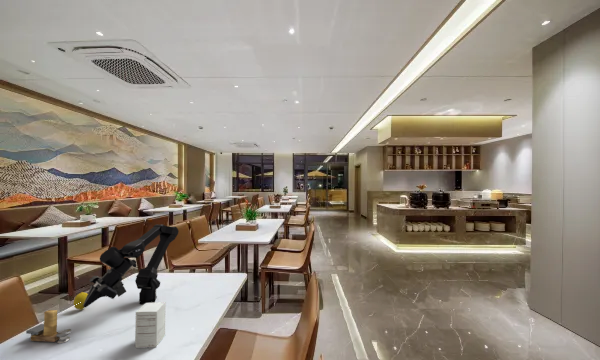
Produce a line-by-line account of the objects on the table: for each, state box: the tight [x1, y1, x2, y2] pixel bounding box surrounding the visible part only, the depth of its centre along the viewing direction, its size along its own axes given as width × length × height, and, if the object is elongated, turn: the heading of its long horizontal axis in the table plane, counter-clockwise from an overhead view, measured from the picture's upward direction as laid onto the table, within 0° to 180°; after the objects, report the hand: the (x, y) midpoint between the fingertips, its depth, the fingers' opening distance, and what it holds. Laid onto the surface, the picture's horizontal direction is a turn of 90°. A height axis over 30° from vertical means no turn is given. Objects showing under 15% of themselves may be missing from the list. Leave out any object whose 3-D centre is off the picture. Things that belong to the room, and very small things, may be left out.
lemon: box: [73, 291, 88, 311], centre depth 115 cm, size 6×6×8 cm
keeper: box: [25, 323, 44, 337], centre depth 94 cm, size 5×5×4 cm
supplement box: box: [134, 301, 167, 349], centre depth 92 cm, size 7×7×13 cm
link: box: [30, 309, 59, 343], centre depth 93 cm, size 9×3×10 cm, turn 87°
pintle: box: [56, 328, 72, 345], centre depth 92 cm, size 4×4×3 cm
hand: (84, 306), depth 100 cm, fingers closed
